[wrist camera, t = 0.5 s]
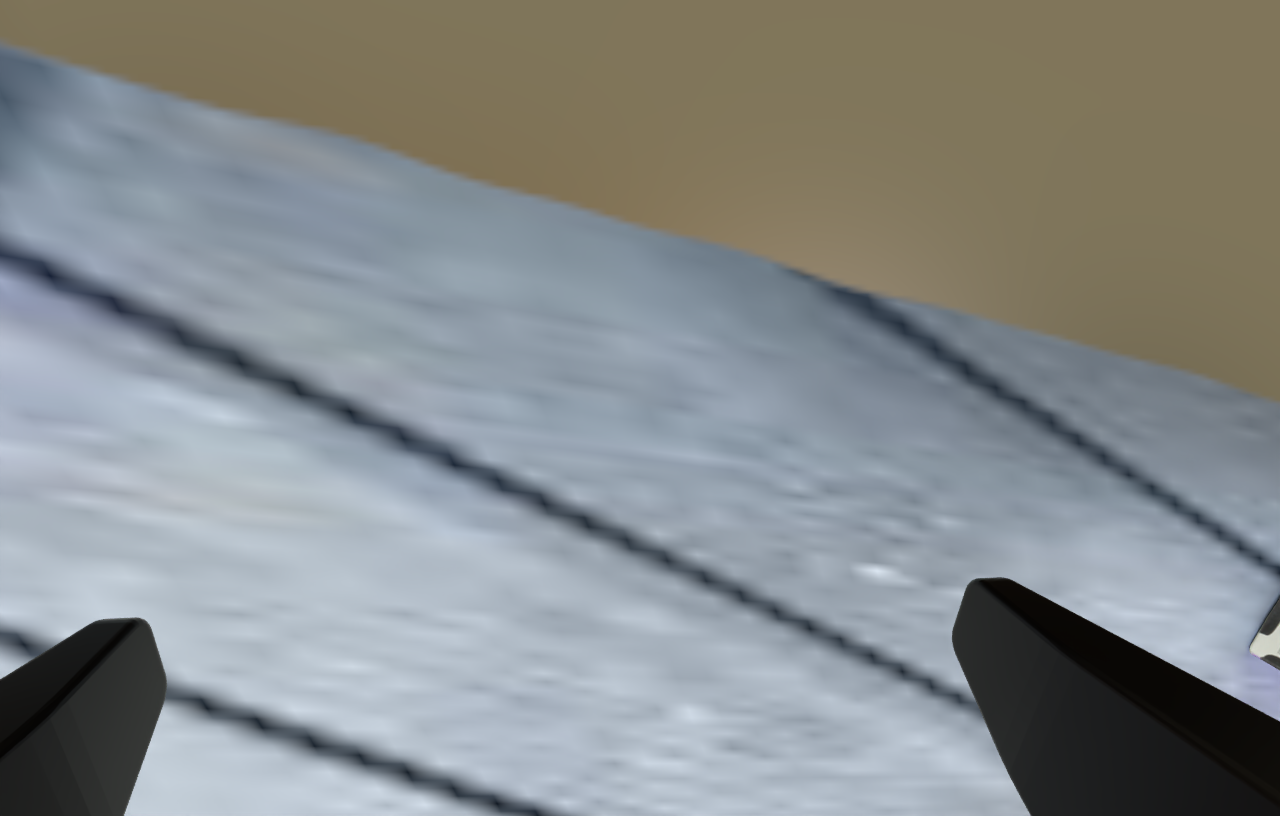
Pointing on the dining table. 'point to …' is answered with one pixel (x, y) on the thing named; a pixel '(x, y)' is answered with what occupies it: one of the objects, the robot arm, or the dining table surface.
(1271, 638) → the candy box
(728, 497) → the dining table surface
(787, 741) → the dining table surface
